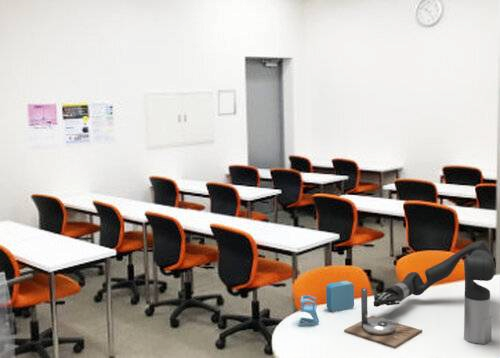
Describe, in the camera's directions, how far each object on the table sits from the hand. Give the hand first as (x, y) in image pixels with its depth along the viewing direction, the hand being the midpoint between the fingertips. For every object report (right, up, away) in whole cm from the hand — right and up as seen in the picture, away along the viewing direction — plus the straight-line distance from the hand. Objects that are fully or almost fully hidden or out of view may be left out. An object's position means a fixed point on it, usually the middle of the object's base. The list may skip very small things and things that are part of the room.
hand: (375, 304), depth 245 cm
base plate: (+1, -10, -7) cm, 12 cm away
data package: (-12, -7, +20) cm, 24 cm away
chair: (-27, -9, +5) cm, 29 cm away
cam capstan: (+1, -9, -7) cm, 11 cm away
